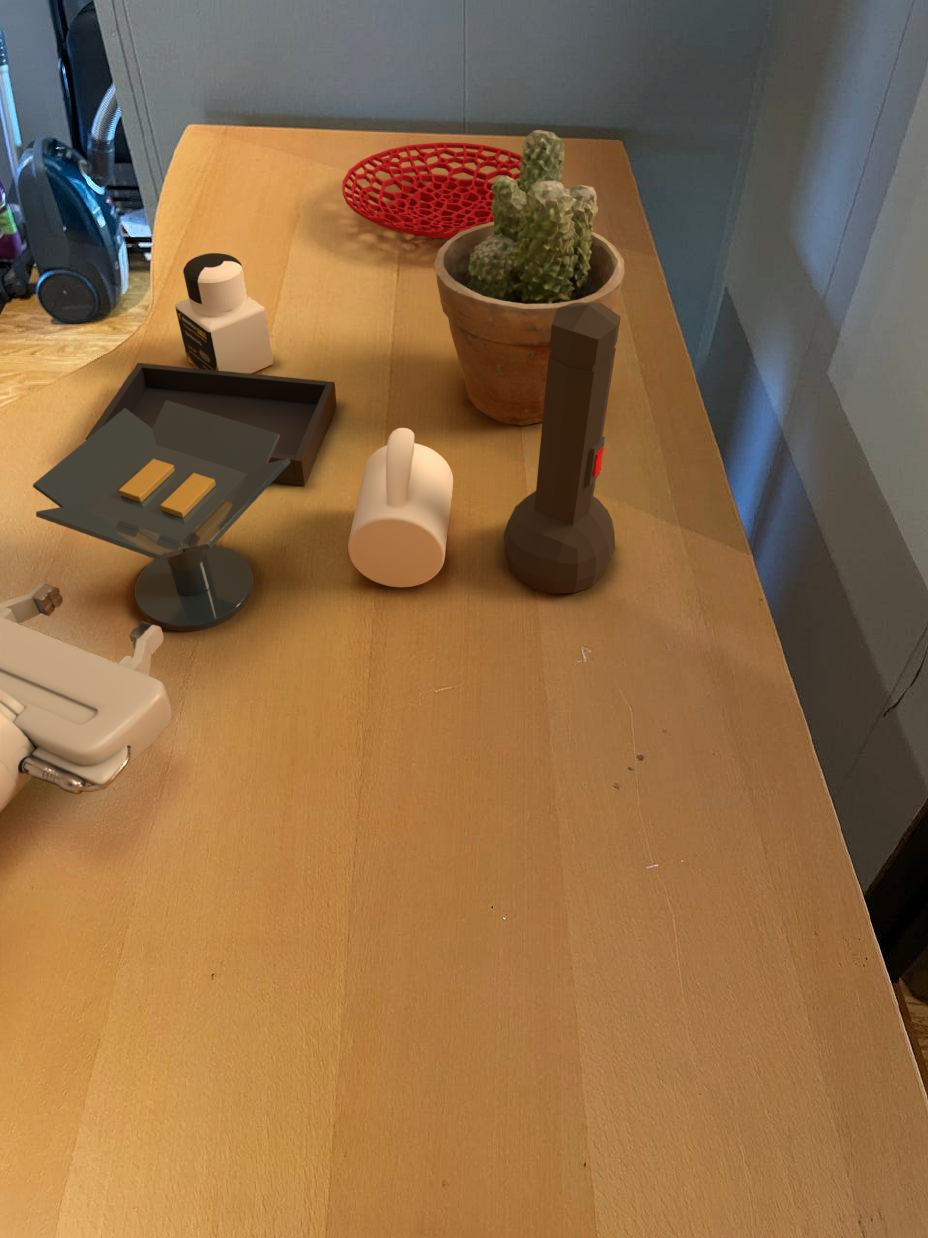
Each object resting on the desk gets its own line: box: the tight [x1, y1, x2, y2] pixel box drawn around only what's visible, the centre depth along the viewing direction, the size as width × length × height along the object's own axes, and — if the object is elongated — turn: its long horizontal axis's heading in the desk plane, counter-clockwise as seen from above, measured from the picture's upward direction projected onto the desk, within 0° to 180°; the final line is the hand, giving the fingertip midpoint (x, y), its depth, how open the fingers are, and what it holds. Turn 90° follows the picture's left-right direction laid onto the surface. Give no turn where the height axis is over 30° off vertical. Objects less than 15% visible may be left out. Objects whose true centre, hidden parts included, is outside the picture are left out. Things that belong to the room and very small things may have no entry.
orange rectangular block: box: [119, 459, 175, 502], centre depth 74 cm, size 4×2×1 cm, turn 156°
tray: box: [85, 362, 338, 487], centre depth 96 cm, size 22×14×3 cm, turn 82°
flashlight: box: [503, 303, 622, 594], centre depth 76 cm, size 10×25×10 cm
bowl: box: [341, 141, 522, 239], centre depth 129 cm, size 29×30×5 cm
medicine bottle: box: [174, 252, 274, 374], centre depth 101 cm, size 7×7×12 cm
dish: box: [32, 400, 290, 632], centre depth 77 cm, size 16×16×13 cm
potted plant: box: [433, 129, 626, 427], centre depth 93 cm, size 18×19×25 cm
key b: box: [160, 473, 216, 518], centre depth 73 cm, size 4×2×1 cm, turn 156°
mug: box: [347, 427, 454, 588], centre depth 81 cm, size 8×10×12 cm
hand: (103, 609), depth 71 cm, fingers open, 8 cm apart
